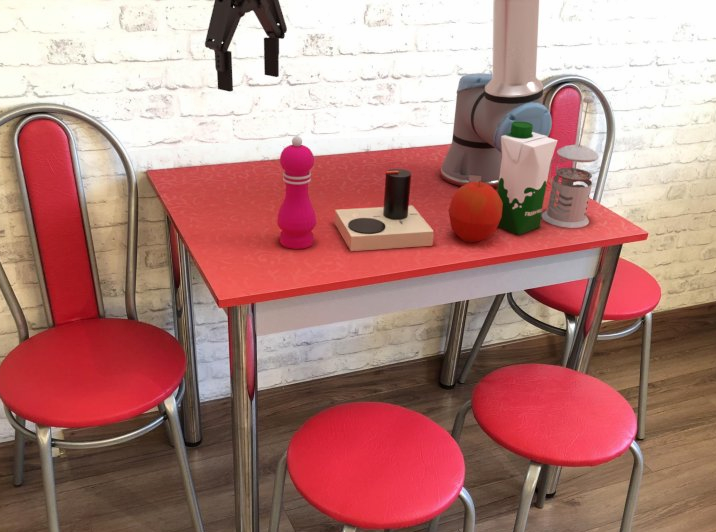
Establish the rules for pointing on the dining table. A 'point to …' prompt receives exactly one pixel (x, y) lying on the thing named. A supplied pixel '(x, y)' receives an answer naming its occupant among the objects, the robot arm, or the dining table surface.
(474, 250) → the dining table surface
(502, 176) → the milk carton
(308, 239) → the pepper mill
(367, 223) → the burner
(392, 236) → the hob
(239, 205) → the dining table surface
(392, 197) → the hob knob
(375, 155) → the dining table surface
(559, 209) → the french press
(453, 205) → the apple
